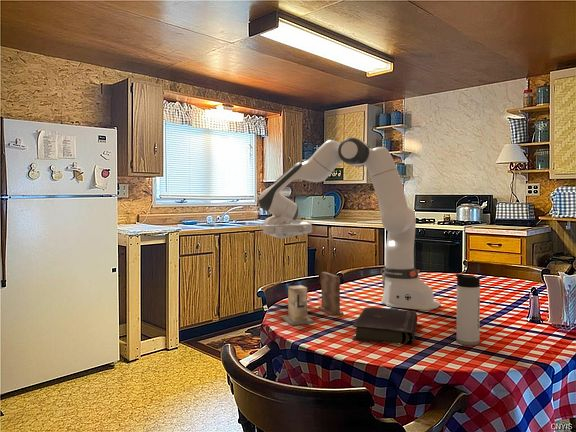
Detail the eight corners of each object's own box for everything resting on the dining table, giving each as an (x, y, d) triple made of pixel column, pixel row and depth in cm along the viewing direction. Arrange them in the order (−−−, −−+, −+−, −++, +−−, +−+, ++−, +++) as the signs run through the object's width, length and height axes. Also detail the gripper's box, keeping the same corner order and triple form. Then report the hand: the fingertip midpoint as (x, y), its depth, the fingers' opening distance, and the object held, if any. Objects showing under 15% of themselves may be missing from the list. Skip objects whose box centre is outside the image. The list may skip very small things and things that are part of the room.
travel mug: (451, 339, 136) (451, 272, 136) (473, 338, 137) (473, 272, 136) (461, 346, 130) (461, 276, 129) (483, 345, 131) (484, 275, 130)
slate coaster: (303, 317, 164) (303, 314, 164) (313, 322, 156) (313, 320, 156) (282, 319, 161) (282, 317, 161) (291, 325, 153) (291, 322, 153)
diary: (417, 325, 155) (417, 310, 155) (413, 348, 131) (414, 331, 131) (362, 320, 161) (362, 305, 160) (349, 341, 137) (349, 325, 137)
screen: (318, 308, 176) (318, 272, 175) (328, 307, 177) (328, 271, 177) (332, 315, 165) (332, 277, 164) (343, 314, 166) (343, 276, 166)
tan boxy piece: (301, 316, 162) (301, 285, 161) (307, 319, 157) (307, 287, 156) (288, 317, 160) (288, 286, 159) (294, 321, 155) (293, 289, 155)
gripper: (258, 221, 189) (269, 222, 176) (303, 219, 196) (317, 221, 183) (258, 236, 189) (269, 239, 176) (303, 234, 196) (317, 236, 184)
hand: (294, 229), depth 180 cm, fingers open, 8 cm apart
